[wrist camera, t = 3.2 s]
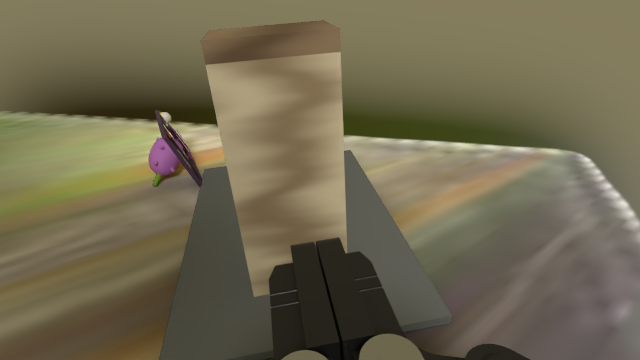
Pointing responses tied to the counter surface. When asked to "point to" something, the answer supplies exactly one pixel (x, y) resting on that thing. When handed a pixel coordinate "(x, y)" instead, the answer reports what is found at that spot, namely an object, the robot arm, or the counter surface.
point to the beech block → (280, 136)
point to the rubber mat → (255, 312)
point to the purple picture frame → (170, 152)
